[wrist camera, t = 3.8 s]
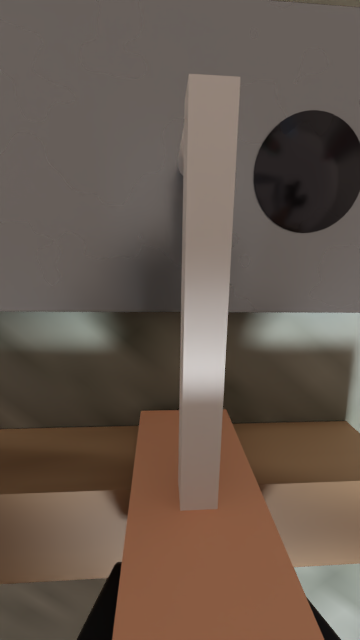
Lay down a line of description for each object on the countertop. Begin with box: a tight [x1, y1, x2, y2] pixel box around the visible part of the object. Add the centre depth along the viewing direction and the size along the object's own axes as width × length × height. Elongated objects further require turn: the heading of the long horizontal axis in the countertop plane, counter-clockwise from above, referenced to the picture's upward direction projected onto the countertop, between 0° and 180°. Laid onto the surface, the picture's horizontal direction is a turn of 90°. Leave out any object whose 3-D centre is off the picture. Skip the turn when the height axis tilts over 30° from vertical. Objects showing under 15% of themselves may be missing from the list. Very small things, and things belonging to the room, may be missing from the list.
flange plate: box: [0, 0, 360, 313], centre depth 8 cm, size 8×20×1 cm, turn 89°
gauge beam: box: [0, 421, 360, 584], centre depth 7 cm, size 13×20×6 cm, turn 89°
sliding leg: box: [112, 74, 324, 640], centre depth 7 cm, size 13×3×7 cm, turn 179°
